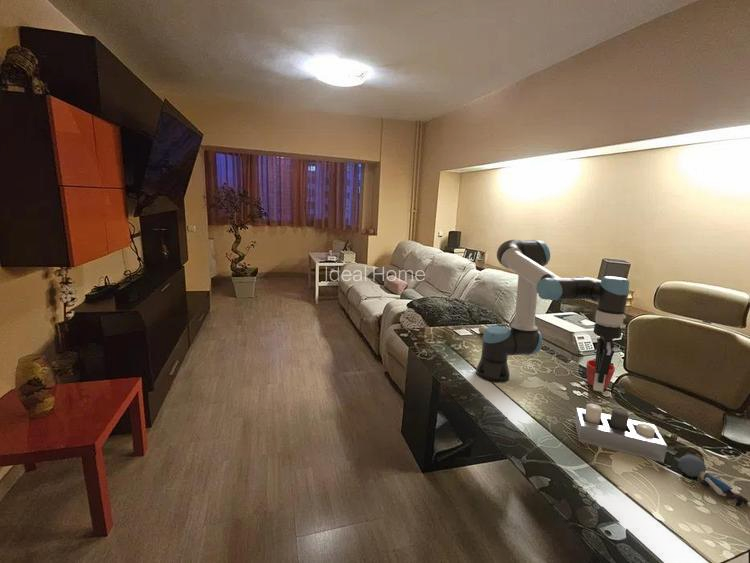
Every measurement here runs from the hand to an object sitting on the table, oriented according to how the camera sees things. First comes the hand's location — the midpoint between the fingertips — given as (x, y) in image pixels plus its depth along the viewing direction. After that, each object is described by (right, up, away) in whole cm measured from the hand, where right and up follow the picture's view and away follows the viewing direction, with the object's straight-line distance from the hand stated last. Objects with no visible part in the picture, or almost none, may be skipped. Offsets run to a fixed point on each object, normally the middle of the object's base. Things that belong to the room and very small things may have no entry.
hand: (597, 390), depth 114 cm
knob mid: (+6, -13, 0) cm, 15 cm away
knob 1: (0, -12, +3) cm, 13 cm away
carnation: (-5, 0, +89) cm, 89 cm away
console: (+6, -18, +1) cm, 19 cm away
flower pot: (+27, -11, +40) cm, 49 cm away
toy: (+19, -22, -18) cm, 34 cm away
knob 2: (+13, -17, -3) cm, 22 cm away
